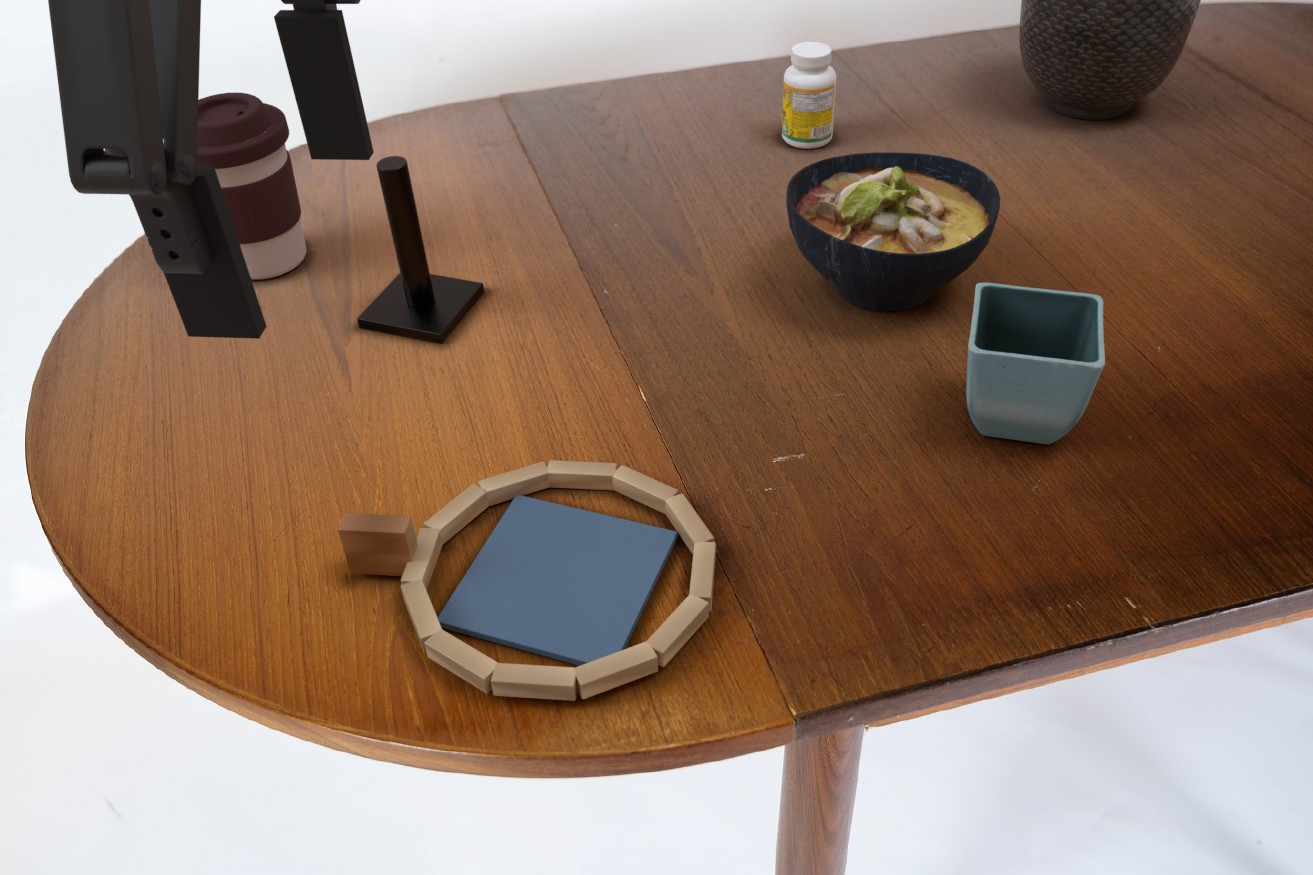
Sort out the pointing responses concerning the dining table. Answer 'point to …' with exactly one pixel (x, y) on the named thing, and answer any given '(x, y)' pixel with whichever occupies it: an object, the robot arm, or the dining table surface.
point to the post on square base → (414, 272)
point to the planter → (1101, 51)
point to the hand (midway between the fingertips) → (291, 235)
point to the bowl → (891, 223)
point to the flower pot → (1032, 360)
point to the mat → (559, 581)
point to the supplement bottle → (809, 96)
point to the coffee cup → (254, 179)
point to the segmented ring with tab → (400, 553)
